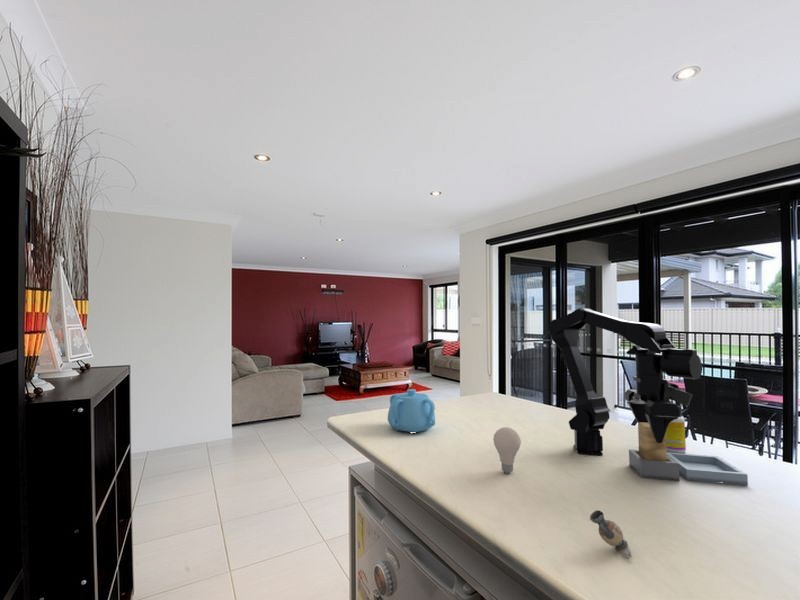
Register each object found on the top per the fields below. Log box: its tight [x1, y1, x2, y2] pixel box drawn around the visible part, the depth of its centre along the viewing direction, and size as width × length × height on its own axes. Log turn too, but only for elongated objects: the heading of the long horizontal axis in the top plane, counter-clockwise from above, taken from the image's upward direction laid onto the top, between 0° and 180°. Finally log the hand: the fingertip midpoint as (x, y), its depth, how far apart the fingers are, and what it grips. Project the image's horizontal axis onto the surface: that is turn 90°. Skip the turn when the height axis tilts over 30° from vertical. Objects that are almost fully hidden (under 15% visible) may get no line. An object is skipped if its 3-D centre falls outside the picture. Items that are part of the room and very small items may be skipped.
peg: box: [637, 422, 667, 461], centre depth 93 cm, size 4×4×11 cm
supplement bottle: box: [666, 405, 687, 454], centre depth 110 cm, size 7×7×13 cm
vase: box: [589, 509, 633, 562], centre depth 62 cm, size 5×5×6 cm
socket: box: [628, 449, 680, 482], centre depth 93 cm, size 8×8×4 cm
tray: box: [667, 452, 749, 486], centre depth 93 cm, size 12×12×2 cm
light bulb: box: [492, 426, 522, 474], centre depth 93 cm, size 7×7×11 cm
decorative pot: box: [387, 388, 436, 433], centre depth 131 cm, size 16×16×14 cm
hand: (651, 437), depth 94 cm, fingers open, 9 cm apart
